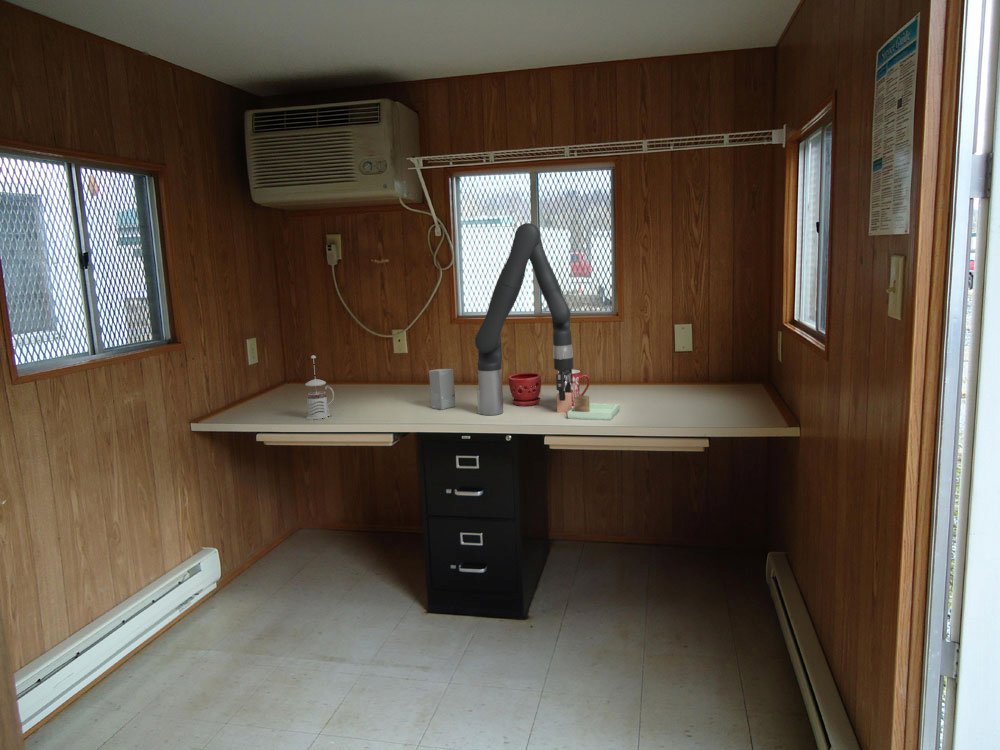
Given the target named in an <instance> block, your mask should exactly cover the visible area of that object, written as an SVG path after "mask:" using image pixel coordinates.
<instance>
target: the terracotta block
mask: <svg viewBox="0 0 1000 750" xmlns="http://www.w3.org/2000/svg"><path fill="white" fill-rule="evenodd" d="M556 406H557V410H556V411H557V413H560V414H561V413H562V414H568V411H569V410H570V409H572V408H573V406H572V399H571V393H565V400H564V401H560V400H559V393H557V394H556Z"/></svg>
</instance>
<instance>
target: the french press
mask: <svg viewBox="0 0 1000 750" xmlns="http://www.w3.org/2000/svg"><path fill="white" fill-rule="evenodd" d="M316 358H317V356H316V355H313V354H312V355H311V356H310V359H313V360H312V361H313V363H315V359H316ZM313 369H314V370H313V372H314V373H313V374H316V370H315V369H316V368H315V366H313ZM326 384H327V381H325V380H322V379H318V378H316V377H314V379H311V380H309V381H307V382H306V383H305V387H321V386H324V385H325V386H324V388H325V391H317V388H315V391H311V392H308V393H307V397H306V401H307V412H308V414H307V416H306V418H323V417H327V416H329V415H331V414H330V410H329V405H330V404H331V403H332V402H333V401H334V398H335V392H334V390H333V388H332V387H331V386H329V385H326ZM327 389H329V390H330V391H331V392H332V398H331V401H330V402H328V396H327V395H326V390H327Z"/></svg>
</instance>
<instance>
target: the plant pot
mask: <svg viewBox="0 0 1000 750" xmlns="http://www.w3.org/2000/svg"><path fill="white" fill-rule="evenodd" d="M541 378H542V377H541V374H540V373H537V372H520V373H516V374H511V375H510V376H508V385H509V391H510V395H511V396H512V400H511V401H512V403H513V404H514V405H516V406H520V407H527V406H534V405H537V404H539V403H540V401H541V397H539V396H540V395H541V389H542V379H541Z"/></svg>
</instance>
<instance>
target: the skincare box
mask: <svg viewBox="0 0 1000 750" xmlns="http://www.w3.org/2000/svg"><path fill="white" fill-rule="evenodd" d="M428 373H429V374H428V375H429V388H430V389H429V390H430V405H431V409H436V410H441V409H443V410H445V409H446V408H447V409H450V408H453V407H456V393H455V381H454V380H455V379H454V378H455V377H454V369H453V368H439V369H438V368H437V369H431V370H428Z"/></svg>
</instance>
